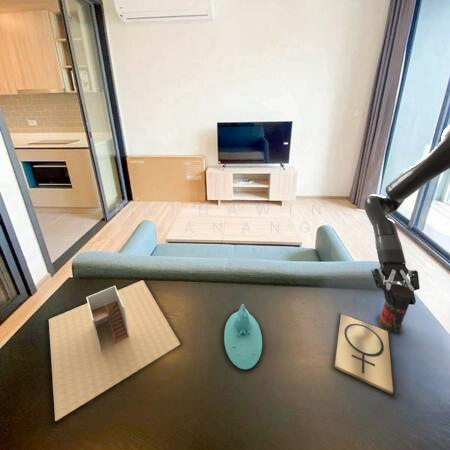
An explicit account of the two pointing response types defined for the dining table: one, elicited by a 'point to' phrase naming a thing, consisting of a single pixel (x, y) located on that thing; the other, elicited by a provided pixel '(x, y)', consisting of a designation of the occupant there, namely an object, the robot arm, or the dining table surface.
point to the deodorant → (395, 308)
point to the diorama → (243, 339)
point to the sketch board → (364, 353)
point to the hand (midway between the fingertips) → (401, 303)
